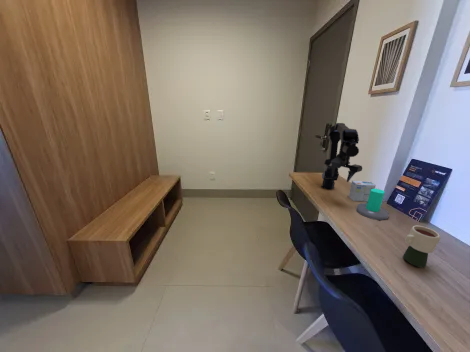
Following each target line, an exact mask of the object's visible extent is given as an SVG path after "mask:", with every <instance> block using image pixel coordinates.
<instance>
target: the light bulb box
mask: <svg viewBox="0 0 470 352" xmlns="http://www.w3.org/2000/svg"><path fill="white" fill-rule="evenodd" d="M371 189H376V184H374V183H373V182H372V181H370V180H351V184H350V189H349V192H348V198H349V199H350V200H351V201H353V202H365V203H367V202H368V198H369V194H370V190H371Z"/></svg>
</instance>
